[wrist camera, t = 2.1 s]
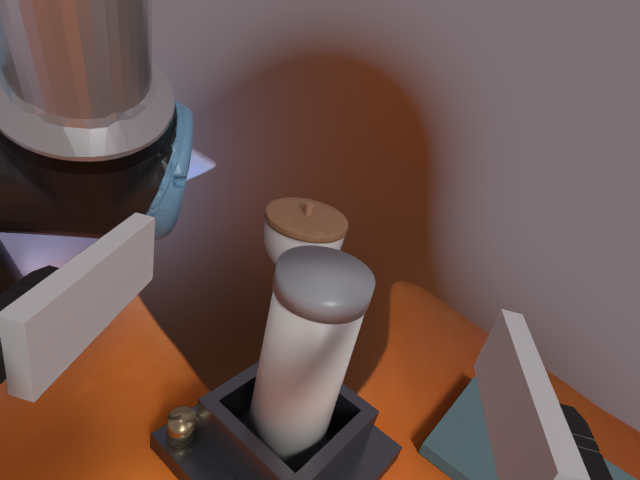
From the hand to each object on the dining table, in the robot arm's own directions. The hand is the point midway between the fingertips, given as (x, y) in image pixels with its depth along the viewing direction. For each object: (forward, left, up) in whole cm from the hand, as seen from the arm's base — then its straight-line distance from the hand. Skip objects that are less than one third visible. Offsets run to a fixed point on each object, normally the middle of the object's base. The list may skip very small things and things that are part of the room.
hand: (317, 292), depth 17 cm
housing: (-5, +9, -23) cm, 25 cm away
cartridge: (-5, +9, -21) cm, 23 cm away
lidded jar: (-23, +31, -23) cm, 44 cm away
